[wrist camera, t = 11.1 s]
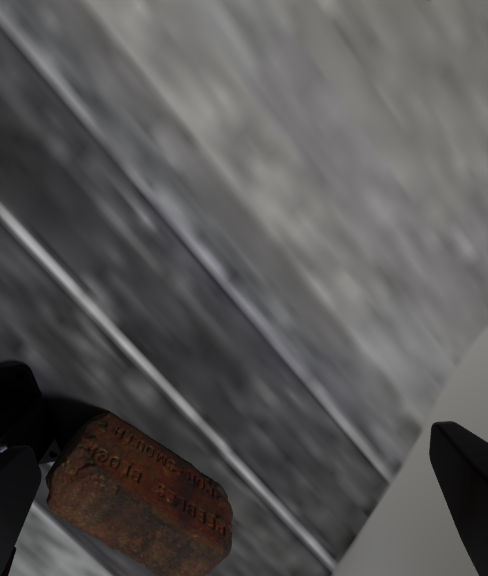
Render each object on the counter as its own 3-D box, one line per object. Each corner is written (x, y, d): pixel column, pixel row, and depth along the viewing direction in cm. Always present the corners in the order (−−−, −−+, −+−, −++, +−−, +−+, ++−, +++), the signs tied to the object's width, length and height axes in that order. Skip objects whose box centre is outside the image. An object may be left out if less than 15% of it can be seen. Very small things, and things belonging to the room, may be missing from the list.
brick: (233, 486, 24) (235, 555, 20) (196, 522, 25) (190, 596, 21) (101, 400, 22) (68, 456, 18) (64, 442, 23) (24, 506, 18)
